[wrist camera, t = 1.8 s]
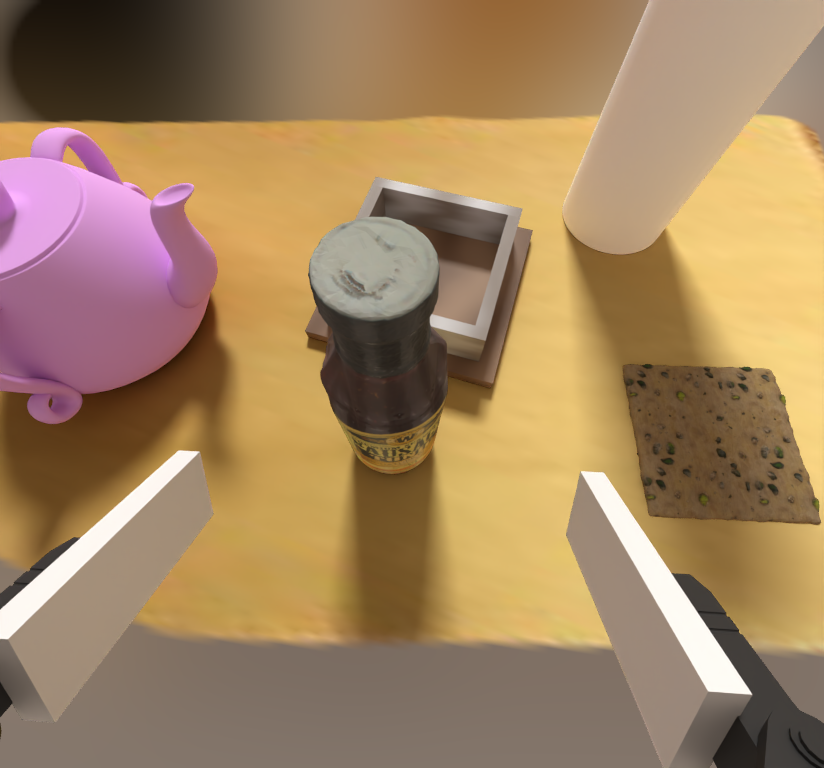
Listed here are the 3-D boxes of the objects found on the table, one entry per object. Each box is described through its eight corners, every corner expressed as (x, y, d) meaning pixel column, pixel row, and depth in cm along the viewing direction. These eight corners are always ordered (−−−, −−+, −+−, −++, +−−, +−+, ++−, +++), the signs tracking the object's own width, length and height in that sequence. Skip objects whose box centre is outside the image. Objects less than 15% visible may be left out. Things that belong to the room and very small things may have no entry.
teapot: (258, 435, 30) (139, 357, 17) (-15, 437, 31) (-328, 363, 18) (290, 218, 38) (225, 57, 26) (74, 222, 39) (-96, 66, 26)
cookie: (645, 519, 28) (652, 518, 27) (618, 366, 32) (623, 360, 31) (819, 527, 27) (833, 526, 26) (766, 369, 32) (776, 364, 31)
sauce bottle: (365, 488, 29) (265, 394, 10) (345, 411, 31) (233, 219, 12) (449, 461, 29) (500, 326, 11) (424, 387, 31) (429, 171, 13)
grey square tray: (308, 336, 33) (292, 307, 29) (371, 202, 39) (365, 161, 35) (490, 388, 31) (501, 364, 27) (529, 238, 37) (543, 199, 33)
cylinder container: (562, 176, 40) (891, -672, 12) (657, 184, 39) (1241, -695, 11) (562, 249, 36) (1026, -706, 8) (666, 259, 36) (1541, -742, 8)
